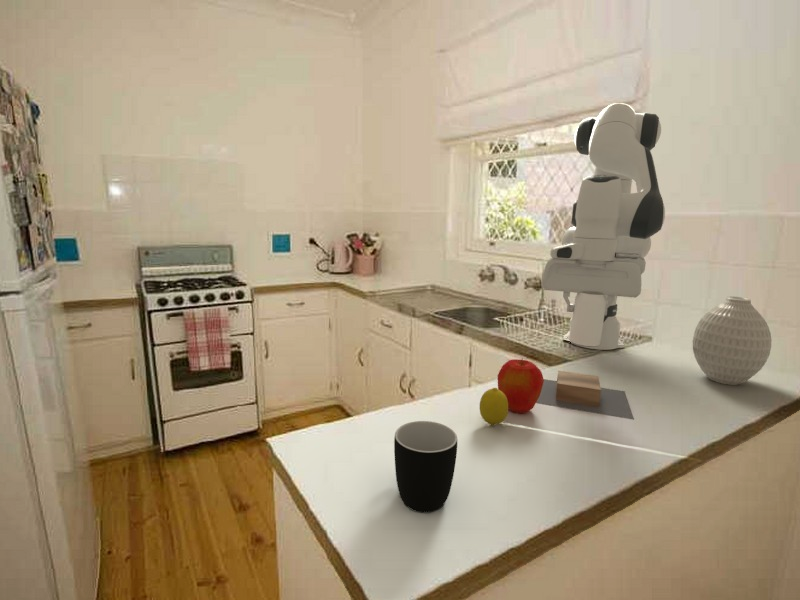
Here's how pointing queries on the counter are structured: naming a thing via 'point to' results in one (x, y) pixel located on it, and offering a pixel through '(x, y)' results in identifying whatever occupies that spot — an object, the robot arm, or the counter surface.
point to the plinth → (578, 388)
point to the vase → (732, 341)
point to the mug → (424, 464)
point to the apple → (520, 384)
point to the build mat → (608, 405)
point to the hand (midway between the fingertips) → (586, 313)
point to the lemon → (493, 406)
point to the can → (587, 319)
